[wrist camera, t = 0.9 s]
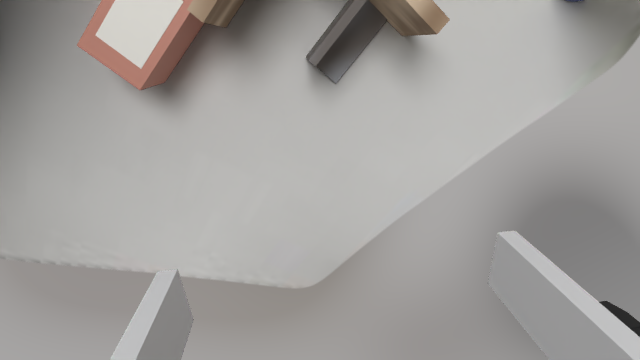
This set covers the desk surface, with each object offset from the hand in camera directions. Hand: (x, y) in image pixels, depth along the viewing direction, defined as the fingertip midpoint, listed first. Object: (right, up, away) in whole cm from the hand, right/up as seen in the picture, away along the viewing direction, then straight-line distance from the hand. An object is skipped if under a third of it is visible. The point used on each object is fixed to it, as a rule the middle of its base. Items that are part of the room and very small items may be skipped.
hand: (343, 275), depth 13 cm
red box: (-14, +18, +15) cm, 27 cm away
